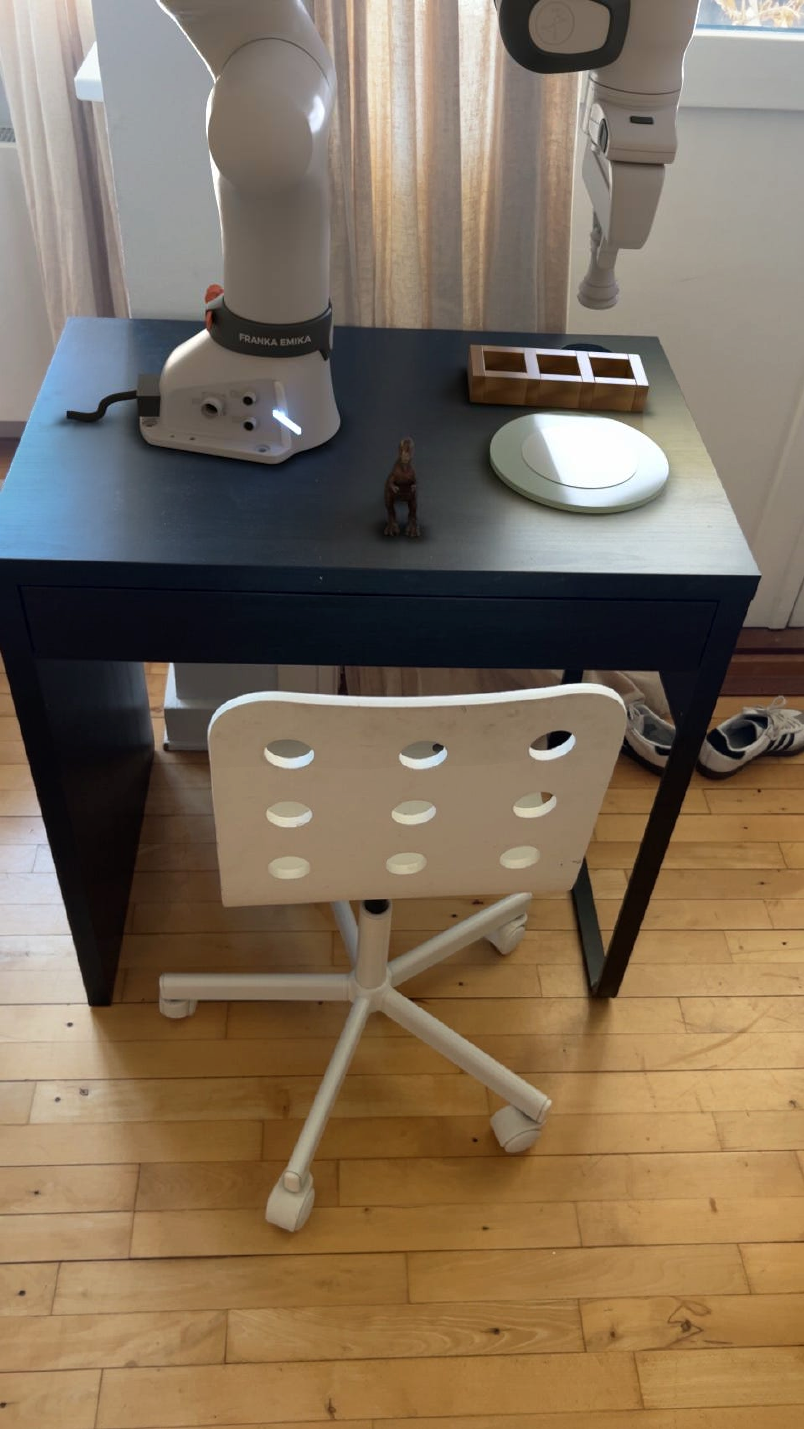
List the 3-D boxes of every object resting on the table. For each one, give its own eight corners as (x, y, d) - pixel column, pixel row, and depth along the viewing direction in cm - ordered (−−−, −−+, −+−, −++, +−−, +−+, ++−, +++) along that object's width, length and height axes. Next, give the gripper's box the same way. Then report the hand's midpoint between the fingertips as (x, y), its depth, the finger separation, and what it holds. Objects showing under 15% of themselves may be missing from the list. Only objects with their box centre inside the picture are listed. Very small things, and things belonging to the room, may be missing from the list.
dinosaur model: (393, 445, 108) (390, 377, 119) (380, 553, 115) (378, 479, 127) (436, 449, 108) (428, 380, 119) (420, 556, 116) (415, 482, 127)
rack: (470, 402, 139) (473, 375, 137) (467, 370, 145) (470, 344, 142) (643, 412, 140) (649, 386, 138) (633, 380, 146) (639, 354, 143)
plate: (494, 511, 122) (496, 500, 121) (484, 415, 137) (485, 405, 136) (681, 521, 123) (684, 511, 122) (651, 425, 138) (653, 415, 137)
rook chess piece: (568, 304, 123) (577, 228, 117) (587, 289, 125) (596, 214, 120) (607, 315, 121) (617, 238, 115) (625, 299, 124) (636, 223, 118)
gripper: (581, 79, 118) (559, 217, 127) (612, 147, 103) (584, 298, 112) (643, 83, 118) (616, 221, 128) (681, 151, 103) (648, 301, 113)
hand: (601, 257), depth 120 cm, fingers closed on rook chess piece, 3 cm apart
